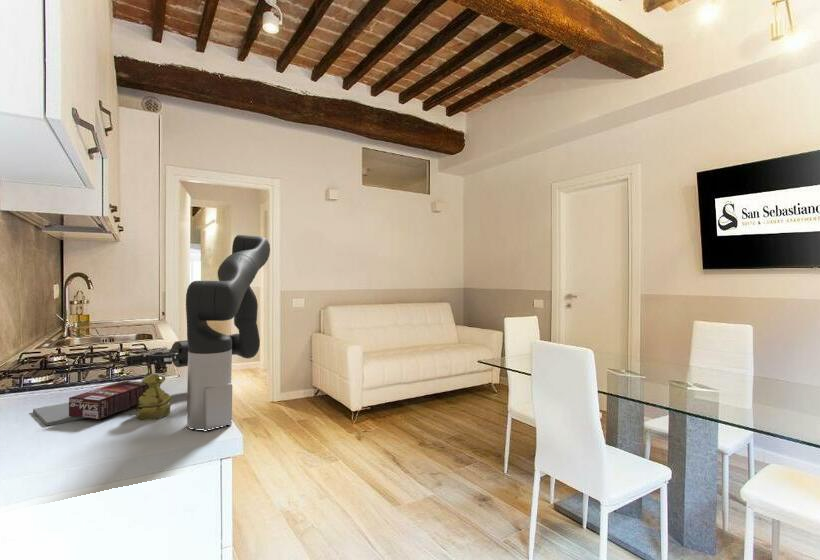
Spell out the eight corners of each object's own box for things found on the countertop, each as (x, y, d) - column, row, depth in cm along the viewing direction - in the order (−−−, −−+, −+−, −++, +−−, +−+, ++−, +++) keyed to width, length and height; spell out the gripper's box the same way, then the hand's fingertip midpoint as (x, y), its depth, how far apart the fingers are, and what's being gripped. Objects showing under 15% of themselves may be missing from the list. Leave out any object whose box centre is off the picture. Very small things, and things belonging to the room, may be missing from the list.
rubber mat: (128, 409, 108) (128, 406, 108) (46, 426, 95) (46, 422, 95) (110, 398, 116) (110, 395, 116) (33, 412, 104) (33, 408, 104)
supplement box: (152, 381, 113) (100, 399, 98) (152, 399, 113) (100, 420, 98) (123, 379, 115) (67, 397, 99) (123, 397, 115) (67, 417, 99)
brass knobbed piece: (177, 412, 106) (178, 372, 106) (150, 422, 99) (151, 379, 99) (156, 408, 109) (156, 369, 109) (128, 417, 102) (128, 376, 102)
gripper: (182, 337, 131) (117, 343, 117) (203, 342, 122) (135, 350, 109) (182, 361, 131) (117, 371, 117) (202, 368, 122) (134, 379, 109)
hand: (125, 361), depth 113 cm, fingers closed
